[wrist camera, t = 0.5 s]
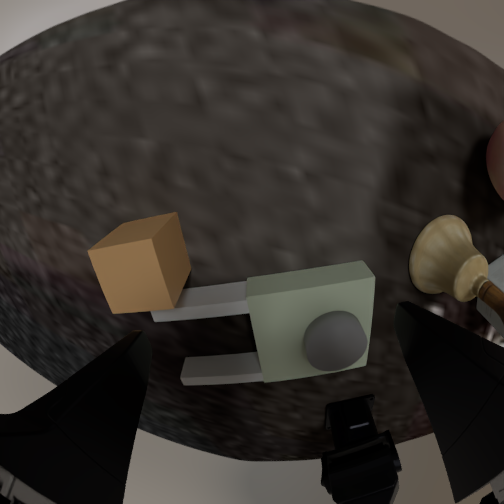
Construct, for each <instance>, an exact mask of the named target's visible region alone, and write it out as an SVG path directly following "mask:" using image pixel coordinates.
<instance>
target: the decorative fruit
mask: <svg viewBox="0 0 504 504" xmlns="http://www.w3.org/2000/svg"><path fill="white" fill-rule="evenodd" d="M486 163H487V169H488V173H489V177H490V179H491V182H492V184H493V186H494V188H495V190H496V191H497V193H498V194H499V195H500V197H501V198H502V199H503V200H504V121H503V122H501V123H500V124H499V125H498V127H497V128H496V130H495V131H494V133H493V135H492V136H491V138H490V141H489V143H488V146H487V152H486Z"/></svg>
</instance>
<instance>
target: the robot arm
mask: <svg viewBox="0 0 504 504" xmlns="http://www.w3.org/2000/svg"><path fill="white" fill-rule="evenodd" d="M394 328H395V331H396V334H397V337H398V340H399V343H400V346H401V349H402V352H403V355H404V358H405V361H406V364H407V366H408V368H409V371H410V373H411V375H412V377H413V380H414V382H415V384H416V387H417V389H418V392H419V394H420V397H421V399H422V402H423V404H424V407H425V409H426V412H427V414H428V417H429V420H430V422H431V425H432V428H433V431H434V434H435V436H436V439H437V442H438V445H439V448H440V451H441V454H442V458H443V461H444V464H445V468H446V471H447V475H448V478H449V481H450V485H451V489H452V493H453V497H454V500H455V503H458V502H460V501H461V500H463V499H465V498H467V497H468V496H470V495H472V494H473V493H474V492H477V491H478V490H480V489H481V488H483V487H484V486H486V485H487V484H489V483H490V484H491V487H492V489H493V491H492V492H491V493H489V494H488V495H486V496H485V497H483V498H482V499H481V502H480V504H504V347H501V346H499V345H497V344H495V343H493V342H491V341H489V340H487V339H485V338H483V337H480V336H479V335H477V334H475V333H473V332H471V331H469V330H467V329H465V328H463V327H461V326H459V325H457V324H455V323H453V322H451V321H449V320H446V319H444V318H442V317H440V316H438V315H436V314H434V313H432V312H430V311H428V310H426V309H424V308H422V307H420V306H417V305H415V304H413V303H411V302H409V301H405V302H400V303H398V304H397V307H396V312H395V317H394ZM151 359H152V347H151V345H150V342H149V340H148V338H147V335H146V333H145V332H144V331H142V330H135V331H132V332H131V333H129V334H128V335H127V336H125V337H124V338H123V339H121V340H120V341H118V342H117V343H116V344H114V345H113V346H112V347H110V348H109V349H108V350H106V351H105V352H103V353H102V354H101V355H99V356H98V357H97V358H95V359H94V360H93V361H91V362H90V363H88V364H87V365H86V366H84V367H83V368H82V369H80V370H79V371H78V372H76V373H75V374H73V375H72V376H71V377H69V378H68V380H65V381H64V382H63V383H61V384H60V385H58V386H57V387H56V388H54V389H53V390H51V391H50V392H48V393H47V394H45V395H44V396H42V397H41V398H39V399H37V400H36V401H34V402H33V403H31V404H29V405H28V406H26V407H25V408H23V409H21V410H20V411H18V412H15V413H12V414H0V504H123V499H124V493H125V486H126V485H125V484H126V480H127V474H128V469H129V464H130V459H131V454H132V450H133V445H134V440H135V435H136V431H137V427H138V423H139V418H140V414H141V410H142V406H143V402H144V398H145V394H146V390H147V385H148V378H149V372H150V365H151ZM374 400H375V396H374V395H368V396H364V397H360V398H356V399H351V400H347V401H342V402H337V403H332V404H329V405H327V408H326V423H325V428H326V429H327V430H328V429H331V430H332V435H333V440H334V445H335V450H332V451H329V452H323V457H322V458H321V462H322V478H321V485H322V486H324V487H325V488H326V489H327V492H328V493H329V494H332V498H333V500H334V502H336V503H337V504H393V502H394V500H395V497H396V495H397V492H398V489H399V481H398V475H397V472H400V471H401V470H402V468H401V464H400V460H399V457H398V453H397V450H396V448H395V445H394V442H393V440H392V437H391V434H390V432H389V430H386V431H385V432H383V433H381V434H378V432H377V429H376V426H375V423H374V420H373V417H372V414H371V411H372V407H373V404H374Z"/></svg>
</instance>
